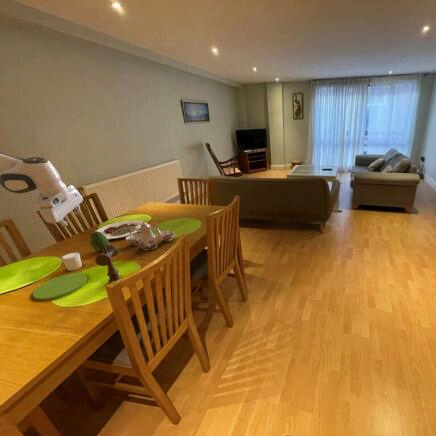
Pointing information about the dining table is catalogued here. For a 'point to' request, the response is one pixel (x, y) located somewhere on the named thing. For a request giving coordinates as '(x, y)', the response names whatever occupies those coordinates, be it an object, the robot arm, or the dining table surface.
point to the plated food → (120, 229)
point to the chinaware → (149, 237)
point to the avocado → (98, 241)
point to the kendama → (109, 261)
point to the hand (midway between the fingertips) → (72, 219)
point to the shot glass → (72, 261)
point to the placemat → (60, 286)
